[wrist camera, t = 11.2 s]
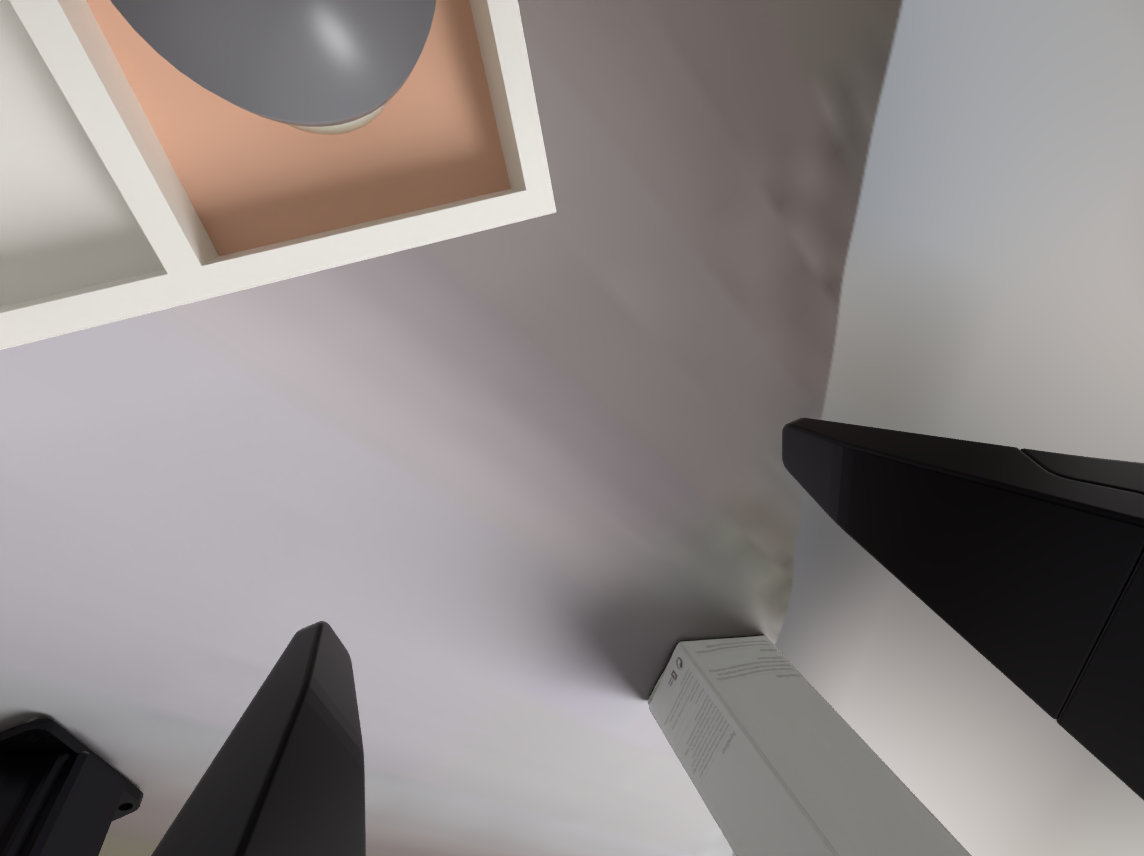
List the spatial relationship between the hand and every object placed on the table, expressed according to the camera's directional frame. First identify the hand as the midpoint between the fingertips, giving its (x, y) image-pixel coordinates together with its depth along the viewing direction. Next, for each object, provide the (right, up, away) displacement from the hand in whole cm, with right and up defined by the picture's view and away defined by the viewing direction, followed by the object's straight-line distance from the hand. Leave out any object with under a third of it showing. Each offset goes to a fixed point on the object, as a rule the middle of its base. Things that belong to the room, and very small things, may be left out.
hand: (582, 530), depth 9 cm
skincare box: (+9, -14, +25) cm, 30 cm away
